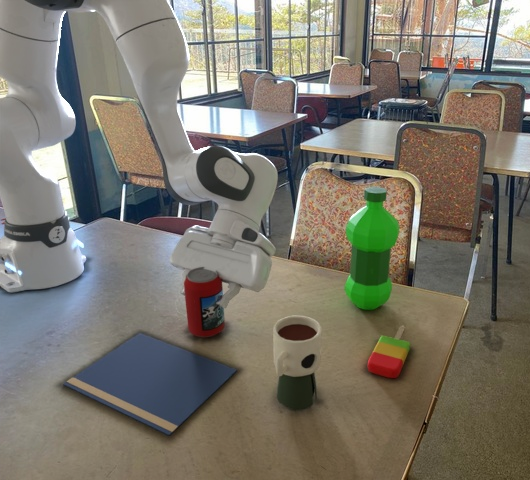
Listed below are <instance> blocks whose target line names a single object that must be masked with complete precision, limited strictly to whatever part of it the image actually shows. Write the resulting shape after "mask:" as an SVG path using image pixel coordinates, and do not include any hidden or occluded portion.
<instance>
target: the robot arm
mask: <svg viewBox="0 0 530 480" xmlns="http://www.w3.org/2000/svg"><path fill="white" fill-rule="evenodd" d="M67 12H68V13H87V12H96V13H98V14H99V15H100V16H101V17H102V19H103V21H104V22H105V24H106V26H107V27H108V29H109V32H110V34H111V36H112V38H113V40H114V43H115V45H116V47H117V49H118V52H119V53H120V55H121V57H122V60H123V62H124V64H125V66H126V69H127V71H128V74H129V76H130V78H131V81H132V83H133V84H132V85H133V87H134V90H135V93H136V96H137V99H138V103H139V106H140V108H141V111H142V114H143V117H144V119H145V121H146V124H147V127H148V129H149V131H150V134H151V137H152V139H153V141H154V144H155V146H156V149H157V152H158V154H159V157H160V161H161V165H162V180H163V184H164V187H165V190H166V191H167V193H168V194H169V196H170V197H171V198H172V199H174V201H176V202H177V203H179V204H181V205H184V206H196V205H199V204H203V203H205V202H208V201H212V202H214V203H215V204H217V206H218V207H217V210H216V212H215V214H214V217H213V219H212V221H211V223H210V225H209V227H204V226H201V225H193V226H191V227H189V228H186V229H185V231H184V234H183V235H182V236H181V237H180V239H179V240H178V242H177V244H176V246H175V247H174V248H173V250H172V252H171V254H170V255H169V263H170V265H171V266H173V267H174V268H176V269H178V270H180V271H183V272H182V284H183V285H182V287H181V289H180V292H179V293H180V294H181V295H182V296H184V297H185V290H184V281H185V279H186V277H187V274H188V272H189V271H191V270H192V269H195V268H199V267H205V268H204V269H207V270H211V271H214V272H216V270H217V272H218V275H219V277H220V279H222V283H225V284H227V289H228V290H227V291H226V292H225V293H223V296H220V295H219V296H218V298H217V301H216V303H215V304H216V305H217V306H219V307H222V308H224V309H227V307H228V305H229V303H230V301H231V300H232V299H234V298H235V297H236V296H237V295H238V294H239V293H240V291H241V289H245V290H248V291H252V292H255V293H260V292H261V291H263V290H264V289H265V288H266V285H267V284H268V280H269V277H270V274H271V270H272V266H273V260H272V257H274V255H275V254H276V251H277V248H276V247H275V245H274V244H273V243H272V242H271V241H270V240H269V238H267V237H266V236H265V235H264V234H263V233H261V232H260V229H261V224H262V219H263V217H264V215H265V214H266V213H267V211H268V210H269V208H270V205H271V203H272V200H273V198H274V195H275V192H276V189H277V185H278V179H279V177H278V170H277V167H276V166H275V164H274V163H272V162H271V160H269V159H268V158H267V157H265V156H264V155H262V154H260V153H257V152H256V153H255V152H251V153H240V152H237V151H233V150H231V149H229V148H228V147H225V146H224V145H223V146H222V145H211V146H207V147H203V148H200V149H198V150H195V149H194V147H193V146H192V144H191V141H190V138H189V136H188V134H187V131H186V127H185V125H184V122H183V120H182V117H181V115H180V112H179V107H178V106H179V105H178V95H179V91H180V88H181V86H182V82H183V80H184V78H185V76H186V74H187V71H188V69H189V65H190V52H189V48H188V43H187V40H186V37H185V34H184V32H183V30H182V26H181V25H180V23H179V20H178V18H177V16H176V14H175V12H174V9H173V7H172V5H171V4H170V1H169V0H0V78H1V79H3V80H5V81H6V85H7V92H6V95H5V96H4V97H0V202H1V205H2V208H3V212H4V216H5V218H1V219H0V221H1V225H4V226H3V236H2V237H0V287H1V288H2V289H3V290H4V291H6V292H7V293H18V292H22V291H28V290H29V291H30V290H45V289H49V288H54V287H58V286H61V285H65V284H67V283H70V282H71V281H74V280H75V279H77V278H79V277H80V276H81V275H82V274H83V273H84V271H85V266H84V265H85V263H86V261H87V257H86V255H84V254H82V253H81V250H80V248H82V249H83V248H84V247H85V245H84V243H83V242H81V241H80V240H79V239H78V238H77V236H76V233H75V231H74V230H73V229H72V228H71V224H70V217H69V214H68V212H67V211H66V210H65V206H64V201H63V196H62V191H61V186H60V182H59V180H58V178H57V177H56V176H55V175H54V174H52V173H51V172H50V171H47V170H45V169H42V168H39V167H38V165H37V163H36V162H35V160H34V157H33V154H32V152H35V151H38V150H42V149H46V148H49V147H53V146H56V145H58V144H60V143H61V142H63V141H65V140H67V139H68V138H70V137H71V136H72V135H73V134H74V132H75V130H76V123H77V122H76V121H77V120H76V116H75V113H74V110H73V109H72V107H71V105H70V104H69V103H68V102H67V101H66V100H65V99H64V98H63V97H62V95H61V93H60V91H59V87H58V83H57V82H58V80H57V66H58V55H59V46H60V39H61V30H62V29H61V27H62V21H63V17H64V15H65V13H67Z"/></svg>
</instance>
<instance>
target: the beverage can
mask: <svg viewBox="0 0 530 480" xmlns="http://www.w3.org/2000/svg"><path fill="white" fill-rule="evenodd" d="M204 268H205V267H199V268H195V269H192V270H191V271H189V272H188V274H187V277H186V279H185V281H184V284H183V285H184V290H185V296H184V300H185V307H186V308H185V310H186V311H185V312H186V318H187V328H188V332H189V333H190V334H191V335H193V336H196V337H200V338H210V337H213V336H216V335H217V334H219V333H221V332H222V331H223V330H224V328H225V325H226V324H225V323H226V322H225V321H226V320H225V308H222V307H219V306H217V305H216V304H215V303H216V301H217V298H218V296H219V295H220V296H223V295H224V288H223V282H222V279H220V277H219V275H218V272H217V270H216V272H214V271H211V270H207V269H204Z"/></svg>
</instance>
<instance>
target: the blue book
mask: <svg viewBox="0 0 530 480" xmlns="http://www.w3.org/2000/svg"><path fill="white" fill-rule="evenodd" d="M237 372H238V369H236V368H233V367H231V366H228V365H225V364H223V363H220V362H217V361H215V360H213V359H209V358H207V357H205V356H202V355H200V354H196V353H194V352H192V351H189V350H186V349H183V348H181V347H178V346H176V345H173V344H170V343H168V342H165V341H163V340H160V339H157V338H155V337H152V336H149V335H147V334H145V333H141V332H139V333H137V334H136V335H134V336H133V337H131V338H130V339H128V340H126V341H125V342H123V343H122V344H121V345H119V346H118V347H116V348H114V349H113V350H111V351H110V352H108V353H107V354H105V355H104V356H103V357H101V358H99V359H98V360H97V361H95V362H94V363H92V364H90V365H89V366H88V367H86V368H84V369H83V370H81V371H80V372H79V373H77V374H76V375H74V376H72V377H70V378H69V379H68V380H66V381H65V382H64V383H62V386H65V387H67V388H69V389H71V390H73V391H75V392H77V393H79V394H81V395H83V396H86V397H88V398H90V399H92V400H94V401H96V402H98V403H100V404H102V405H104V406H107V407H108V408H110V409H112V410H114V411H117V412H119V413H120V414H123V415H125V416H127V417H129V418H131V419H133V420H135V421H138V422H139V423H142V424H144V425H146V426H148V427H149V428H152V429H154V430H156V431H158V432H159V433H162V434H164V435H166V436H171V435H172V434H173V433H174V432H175V431H176V430H177V429H178V428H179V427H180V426H181V425H182V424H183V423H185V421H187V419H189V418H190V417H191V416H192V415H193V414H194V413H195V412H196V411H197V410H198V409H199V408H200V407H201V406H202V405H203V404H204V403H205V402H206V401H207V400H208V399H210V397H212V396H213V395H214V394H215V392H217V391H218V390H219V389H220V388H221V387H222V386H223V385H224V384H225V383H226V382H227V381H228V380H229V379H231V377H233V376H234V374H235V373H237Z"/></svg>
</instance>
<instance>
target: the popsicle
mask: <svg viewBox="0 0 530 480" xmlns="http://www.w3.org/2000/svg"><path fill="white" fill-rule="evenodd" d="M405 329H406V325H402V324H400V326H399V327H398V329H397V331H396V333H395V336H394V337H391V336H387V335H383V334H381V335H380V338H379V339H378V341H377V343H376V345H375V346H374V349H373V350H372V353H370V356H369V358H368V361H367V370H368V372H370V373H371V374H374V375H378V376H381V377H384V378H385V377H386V378H388V379H396V378H398V377H399V376H400V374H401V372H402V369H403V366H404V364H405V361H406V359H407V357H408V354H409V352H410V350H411V349H410V348H411V342H409V341H406V340H403V339H401V338H402V335H403V334H404V332H405Z"/></svg>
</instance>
